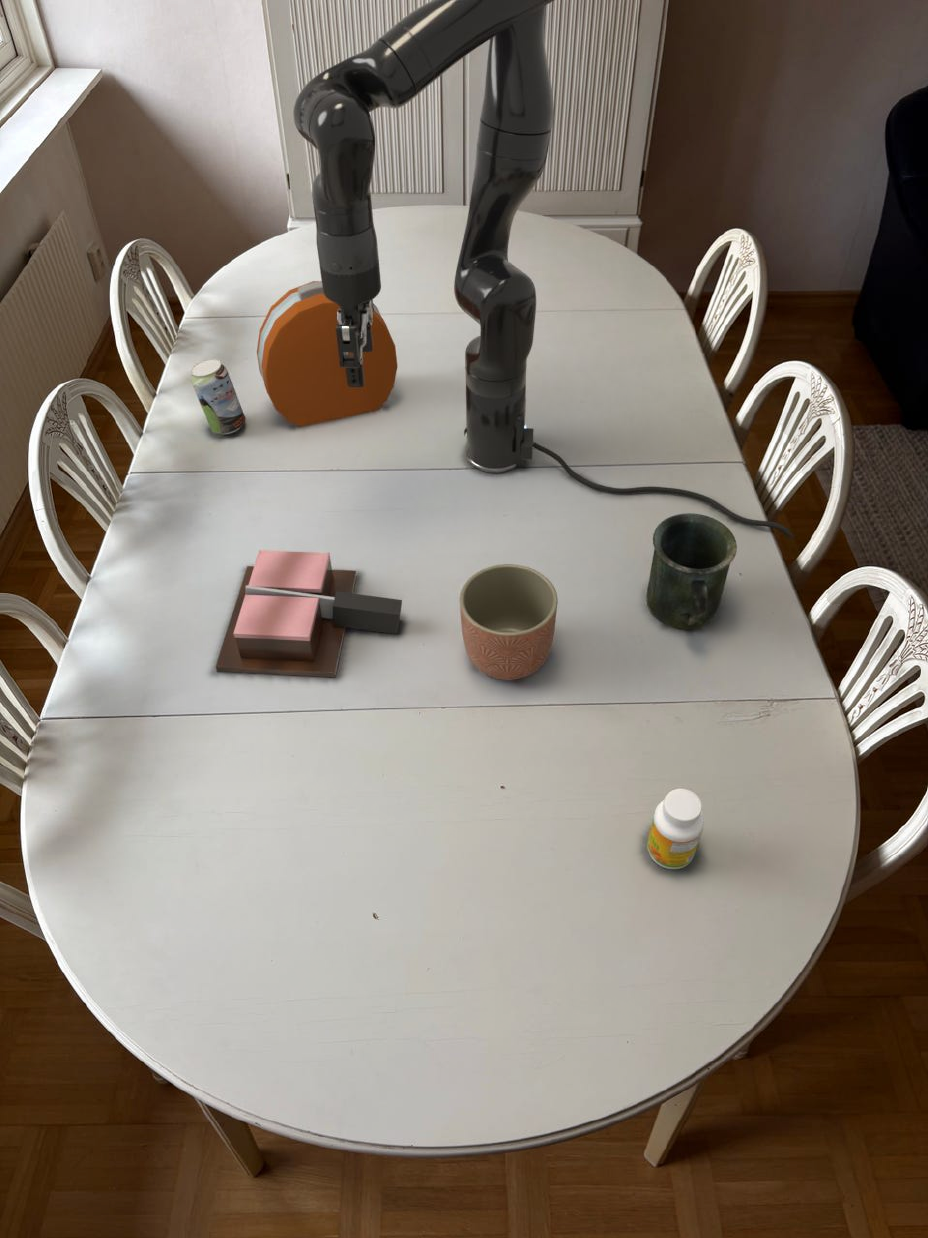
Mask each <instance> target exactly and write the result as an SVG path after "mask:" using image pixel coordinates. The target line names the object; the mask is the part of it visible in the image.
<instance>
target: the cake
mask: <svg viewBox="0 0 928 1238" xmlns="http://www.w3.org/2000/svg"><path fill="white" fill-rule="evenodd" d="M330 554H331V553H329V552H314V551H313V552H311V551H286V550H285V551H284V550H263V549H261V550H258V552H257V556H256V559H255V562H254V565H253V566H252V565H246V568H245V572H244V574H243V579H242V580H241V581H242V582H241V584H240V588H239V591H238V594H237V598H236V600H235V604H234V607H233V610H232V613H231V616H230V620H229V623H228V626H227V630H226V632H225V636H224V638H223V641H222V645H221V648H220V651H219V654H218V657H217V661H216V664H215V669H216V672H220V673H237V674H256V675H257V674H259V675H281V676H299V677H300V676H301V677H321V678H322V677H323V678H336V676H337V671H338V666H339V661H340V658H341V657H340V656H341V652H342V648H343V643H344V638H345V633H346V628H347V627H341V626H333V625H332V620H333V619H329V618H322V614H321V608H320V603H319V598H310V597H287V596H264V595H246V590H245V587H246V585H248V586H256V587H263V588H270V589H278V590H285V591H292V592H300V593H307V594H314V595H322V596H329V597H335V594H336V591H339V592H347V593H354V590H355V585H356V580H357V576H358V575H357V574H358V573H357V570H352V569H351V570H348V569H333V567H332V561H331V555H330Z"/></svg>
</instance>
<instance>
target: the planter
mask: <svg viewBox="0 0 928 1238" xmlns="http://www.w3.org/2000/svg"><path fill="white" fill-rule="evenodd" d="M557 593H558V592H557V590H556V588H555V586H554V584H553V583H552V582H551V581H550V580H549V578H548V577H546V576H545V575H544V574H543V573H541V572H539V571H538V570H536V569H534V568H531V567H529V566H525V565H522V564H521V565H520V564H512V563H503V564H502V563H501V564H495V565H492V566H488V567H485V568H482V569H480V570H479V571H477V572H475V573H474V574H472V575H471V576H470V577H469V579H467V580H466V581H465V583H464V584H463V586H462V588H461V590H460V594H459V609H460V610H459V611H460V622H461V623H460V624H461V632H462V639H463V645H464V649H465V653H466V655H467V657H468V659H469V661H470V662H471V664H472V665H473V666H474V667H475V668H476V669H477V671H480V672H481V673H483V674H484V675H485V676H486V675H487V676H488V677H491V678H494V679H497V680H506V681H509V680H519V679H523V678H525V677H528V676H530V675H532V674H533V673H535V672H536V671H538V670H539V669H540V668H541V667H542V666H543V665H544V663H545V662H546V660H547V659H548V657H549V654H550V652H551V649H552V644H553V640H554V635H555V627H556V619H557V611H558V604H559V599H558V594H557Z"/></svg>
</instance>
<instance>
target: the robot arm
mask: <svg viewBox="0 0 928 1238" xmlns="http://www.w3.org/2000/svg"><path fill="white" fill-rule="evenodd" d="M554 1H555V0H431V1H428V2H426V3H424V4H423V5H421V6H419V7H418V8H416V9H414V10H412V11H411V12H409V13H408V14H407V15H406V16H404V17H403V18H402V19H400V20H399V21H398V22H397V23H396V24H394V25H393V26H391V28H390V29H388V30H387V31H386V32H385V33H384V34H382V35H381V36H380V37H378V39H377V40H375V41H374V42H373V43H372V44H371V45H370V46H369V47H367V48H366V49H365V50H363V51H361V52H358V53H356V54H354V55H351V56H349V57H347V58H345V59H344V60H342V61H339V62H337V63H335V64H334V65H332V66H330V67H329V68H327V69H325V70H323V71H321V72H320V73H318V74H317V75H315V76H314V77H312V79H310V80H309V81H308V82H307V83H306V84H305V85H304V86H303V87H302V89H301V90H300V92H299V93H298V95H297V97H296V98H295V99H296V100H295V101H294V105H293V111H292V112H293V113H292V115H293V122H294V125H295V127H296V129H297V131H298V133H299V134H300V135H301V137H302V138H303V139H304V140H306V141H307V143H309V144H310V145H311V146H312V147H313V148H315V149H316V150H317V152H318V157H319V162H320V163H319V164H320V172H319V173H317V175H316V176H315V178H314V180H313V182H312V187H311V194H312V195H311V196H312V204H313V211H314V218H315V219H314V220H315V228H316V237H315V238H316V249H317V256H318V257H317V258H318V264H319V271H320V279H321V280H320V281H322V287H323V293H324V295H325V296H326V297H327V298H328V299H329V300H330V301H332V302H334V303H336V304H338V305H339V306H340V307H341V309H338V311H337V321H338V322H339V324H337V325H336V328H335V330H336V335H337V343H338V352H339V365H340V367H341V368H346V376H347V384H348V386H349V387H363V386H364V373H363V364H362V362H363V358H362V352H371V351H372V350H373V340H372V330H371V326H369V325H372V323H373V319H372V318H373V313H374V307H373V303H374V299H375V298H376V297H378V295H379V294H380V292H381V289H382V283H381V282H382V281H381V280H382V279H381V270H380V259H379V247H378V239H377V238H378V237H377V233H376V228H375V223H374V222H375V221H374V213H373V203H372V192H371V184H372V178H373V172H374V165H375V164H374V163H375V156H376V132H375V125H374V121H373V118H372V115H371V112H373V111H375V110H376V109H379V108H388V109H401V108H402V107H404V106H405V105H407V104H408V103H410V102H411V101H412V100H414V98H416V97H418V95H420V94H421V93H422V92H423V91H424V90H425V89H427V88H428V87H429V86H431V84H433V83H434V82H435V81H436V80H438V78H440V77H441V76H442V75H443V74H445V72H447V71H448V70H449V69H451V68H452V67H453V66H454V65H455V64H457V63H458V62H459V61H461V60H463V58H465V57H466V56H468V55H469V54H470V53H472V52H473V51H475V50H476V49H478V48H479V47H481V46H482V45H484V44H485V43H487V42H488V41H489V42H488V50H487V58H486V59H487V60H486V68H485V77H484V78H485V79H484V87H483V96H482V102H481V107H480V108H481V109H480V116H479V122H478V123H479V125H478V131H477V140H476V147H475V148H476V150H475V162H474V170H473V177H472V184H471V190H470V191H471V192H470V197H469V198H470V199H469V206H468V207H469V208H468V213H467V218H466V224H465V229H464V232H463V233H464V234H463V238H462V243H461V247H460V251H459V255H458V261H457V265H456V268H455V269H456V270H455V274H454V280H453V281H454V282H453V292H454V293H453V294H454V297H455V301H456V303H457V305H458V306H459V308H460V309H461V310H462V311H463V312H464V313H465V314H466V315H467V316H469V317H470V319H472V320H473V321H475V322H476V323H477V324H478V325H479V327H480V334H479V335H478V336H475V337H474V338H473V339H471V341H469V342H468V344H467V345H466V347H465V351H464V370H465V372H464V373H465V377H464V378H465V412H466V413H465V418H466V419H465V420H466V421H465V423H466V426H465V428H464V430H463V435H464V437H465V436H466V450H465V451H466V459H467V461H468V462H469V464H470V465H471V466H472V467H474V468H475V469H477V470H478V471H481V472H486V473H490V474H491V473H492V474H499V473H506V472H509V471H511V470H512V471H513V470H515V469H516V468H524V460H525V461H527V460H529V461H531V460H532V461H533V451H534V450H533V449H535V450H537V451H540V452H541V453H543V454H546V455H547V456H549V457H551V458H552V459H554V460H555V461H557V463H558V464H559V465H560V466H561V467H562V468H563V470H564V471H565V472H566V473H567V474H568V475H570V476H571V477H572V478H574V479H575V480H576V481H578V482H580V483H582V484H584V485H585V486H587V487H590V488H592V489H594V490H598V491H601V492H605V493H610V494H611V493H612V494H619V495H622V494H623V495H625V494H637V493H638V494H639V493H665V494H673V495H680V496H686V497H690V498H693V499H696V500H699V501H702V502H705V503H707V504H709V505H711V506H713V507H714V508H716V509H718V510H719V511H720V512H721V513H723V514H724V515H726V516H727V517H729V518H731V519H733V520H734V521H737V522H739V523H741V524H744V525H750V526H754V527H755V526H756V527H765V528H771V529H775V530H778V531H779V532H781V533H783V535H784V536H785V537H787V538H789V539H792V538H794V535H793V533H792V532H791V530H790V529H788V528H787V527H786V526H784V525H782V524H780V523H778V522H775V521H770V520H769V521H768V520H758V519H751V518H746V517H744V516H741V515H739V514H737V513H734V512H733V511H731V510H730V509H729V508H727V507H726V506H724V505H723V504H721V503H719V502H718V501H716V500H714V499H713V498H711V497H708V496H706V495H704V494H701V493H697V492H695V491H690V490H686V489H680V488H674V487H665V486H664V487H663V486H639V487H638V486H637V487H627V488H625V487H623V488H622V487H621V488H620V487H611V486H606V485H602V484H599V483H596V482H593V481H591V480H589V479H587V478H585V477H583V476H581V475H580V474H578V473H577V472H576V471H574V470H573V469H572V468H571V467H570V466H569V465H568V464H567V462H566V461H565V460H564V459H563V457H561V456H560V455H559V454H557V453H556V452H554V451H553V450H551V449H549V448H547V447H545V446H543V445H541V444H539V443H537V442H536V441H534V428H530V427H529V428H527V425H526V412H527V411H526V410H527V409H526V407H527V399H526V398H527V395H526V394H527V365H528V357H529V355H530V353H531V351H532V347H533V345H534V344H533V343H534V334H535V326H536V325H535V324H536V313H537V291H536V287H535V283H534V282H533V279H532V278H531V277H530V276H529V275H528V274H527V273H525V272H524V271H522V270H520V269H519V268H518V266H517V267H516V266H515V265H514V264H513V263H511V262H510V261H509V243H510V236H511V230H512V226H513V222H514V219H515V216H516V214H517V212H518V210H519V208H520V207H521V205H522V204H523V203H524V201H525V200H526V198H527V197H528V196H529V194H530V193H531V192H532V191H533V190H534V187H535V186H536V184H537V183H538V182H539V180H540V178H541V177H542V174H543V172H544V170H545V166H546V163H547V158H548V153H549V148H550V142H551V135H552V129H553V123H554V113H555V112H554V111H555V110H554V95H553V87H552V82H551V75H550V70H549V69H550V68H549V63H548V58H547V51H546V44H545V22H546V21H545V20H546V19H545V18H546V10H547V5H549V4H550V3H552V2H554ZM348 352H352V353H353V354H354V355H348Z"/></svg>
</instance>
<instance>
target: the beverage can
mask: <svg viewBox="0 0 928 1238" xmlns="http://www.w3.org/2000/svg"><path fill="white" fill-rule="evenodd" d="M190 382H191V384H192V387H193V389H194V391H195V395H196V397H197V399H198V401H199V404H200V406H201V409H202V411H203V414H204V417H205V419H206V421H207V424H208V426H209V428H210V430H211V431H212V432H213V433H214V434H218V435H222V436H223V435H230V434H233V433H235V432H237V431H239V430H240V429H241V428H242V426H243V425H244V424H245V422H246V417H245V413H244V411H243V408H242V406H241V403H240V401H239V398H238V395H237V392H236V389H235V387H234V384H233V382H232V379H231V376H230V373H229V370H228V369H227V367H226V366H225V365H224V364H222V363H221V361H220V360H219V359H213V358H212V359H205V360H203V361H200V362H197V364H195V365H194V366H193V367H192V368H191V375H190Z"/></svg>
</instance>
